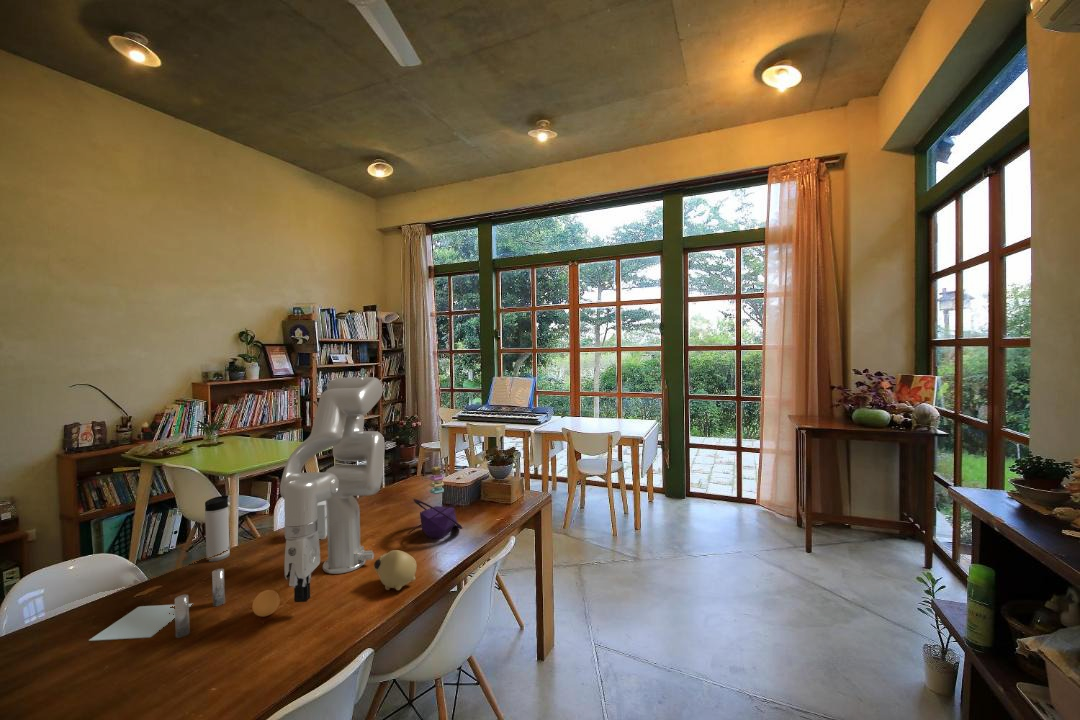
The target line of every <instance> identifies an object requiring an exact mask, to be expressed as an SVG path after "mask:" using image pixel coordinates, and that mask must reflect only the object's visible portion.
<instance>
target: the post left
mask: <svg viewBox="0 0 1080 720" xmlns="http://www.w3.org/2000/svg"><path fill="white" fill-rule="evenodd" d="M189 599H190V598H189V594H182V595H181V594H180V595H179V596H177V597H174V605H175V619H174V623H175V625H174V627H175V638H176V639H180V638H184V637H186V636H189V634H190V633H191V632H190V631H191V630H190V607H189V604H190V603H189V602H190V601H189Z"/></svg>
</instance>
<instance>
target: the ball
mask: <svg viewBox="0 0 1080 720" xmlns="http://www.w3.org/2000/svg"><path fill="white" fill-rule="evenodd" d="M280 600H281V598H280V595H279V593H278V592H277V591H275V590H272V589H266V590H264V591H261V592H259V593H258V594H257V595H256V596H255V597H254V599H253V602H252V606H251V607H252V611H253V613H254V614H255V615H256V616H259V617H268V616H270V615H272V614H274V612H275V611H277V609H278V608H279V606H280V602H281V601H280Z"/></svg>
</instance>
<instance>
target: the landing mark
mask: <svg viewBox="0 0 1080 720" xmlns="http://www.w3.org/2000/svg"><path fill="white" fill-rule="evenodd" d="M192 604H193V603H189V608H190V607H192V606H193V605H192ZM191 605H192V606H191ZM172 606H173V607H174V606H175V604H162V605H161V604H160V605H159V604H158V605H145V606H144V605H142V606H137V607H136V608H134V609H133V610H131V611H130V612H129V613H127V614H125V615H124V616H122V618H120V619H118V620H117V621H115V622H113V623H112V624H110V625H109V626H108V627H107V628H105V629H103V630H101V631H100V632H99V633H97V634H96V635H94V636H92V638H91V637H90V639H88V641H89V642H95V641H96V642H97V641H113V640H124V639H125V640H127V639H128V640H131V639H146V638H147V639H148V638H152V637H153V636H155V635H156V634H157V633H158V632H160V631H161V630H162V629H163V627H164V628H165V627H166V626H167V625H169V624H170V623H171V622H173V621H174V620H175V619H174V618H175V609H174V608H170V607H172ZM169 613H170V614H169ZM173 614H174V615H173ZM173 619H174V620H173ZM172 620H173V621H172ZM169 622H170V623H169ZM168 623H169V624H168ZM159 630H160V631H159Z"/></svg>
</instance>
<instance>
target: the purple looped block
mask: <svg viewBox="0 0 1080 720" xmlns="http://www.w3.org/2000/svg"><path fill="white" fill-rule="evenodd" d="M441 471H442V467H441V466H434V467H431V472H432V473H431V476H429V477H428V479H429V480H430V481H432V482H430V483H429V484H428V486H429V487H431V488H432V489H430V490H429V493H430V494H433V495H439V494H443V493H444V492H445V491H444V490H445V489H444V488H443V487H444V485H445V484H444V482H443V479H444V475H443V474H441ZM466 497H467V495H465V496H463V497H461V498H459V499H458V500H457V501H455V502H453V503H452V504H450V505H449V506H438V505H435V506H432V505H430V504H428V503H425V502H424V501H422V500H419V499H416V498H413V501H414V503H415V504H416V505H417V506H419V507H420V508H422V509H423V510H422V511H420V512H419V515H420V523H421V524H419V525H418V526H416V527H415V528H413V529H412V530H410V531H408V532H407V533H406V534H407V535H409V534H410V533H412V532H414V531H415V530H417V529H418V528H420V527H421V530H422V532H424V534H425V535H426V536H427V537H428V538H430V539H443V537H445V536H447V535H448V534H449V533H451V531H452V529H454V527H455V528H456V529H460V530H462V529H463V527H462V525H461V524H459V523H458V520H457V516H456V509H455V507H452V506H454V505H455V504H456V503H458V502H460V501H462V500H463V499H464V498H466ZM439 500H440V499H438V501H439ZM438 504H440V503H439V502H438ZM423 505H425V506H426V507H429V508H428V509H427V508H426V507H425V506H423Z"/></svg>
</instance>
